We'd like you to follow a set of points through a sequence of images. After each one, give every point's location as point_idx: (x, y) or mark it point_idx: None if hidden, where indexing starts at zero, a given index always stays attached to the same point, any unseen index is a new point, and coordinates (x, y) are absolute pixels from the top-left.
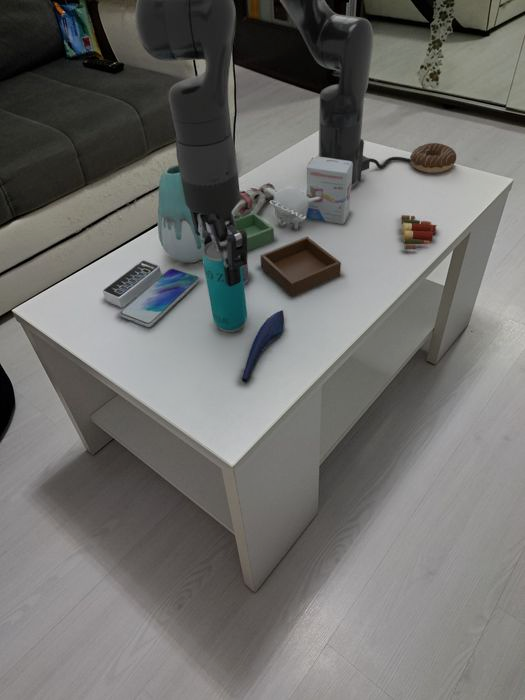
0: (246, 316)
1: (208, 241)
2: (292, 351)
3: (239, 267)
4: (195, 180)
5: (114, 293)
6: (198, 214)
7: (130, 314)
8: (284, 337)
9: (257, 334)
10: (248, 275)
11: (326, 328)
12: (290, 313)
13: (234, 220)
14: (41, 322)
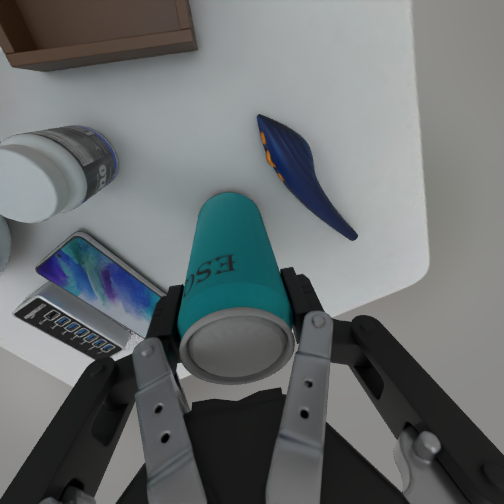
0: (249, 199)
1: (174, 367)
2: (347, 141)
3: (304, 295)
4: None
5: (111, 352)
6: (88, 477)
7: None
8: (308, 138)
9: (301, 197)
10: (88, 130)
11: (339, 27)
12: (251, 88)
13: (320, 482)
14: None
